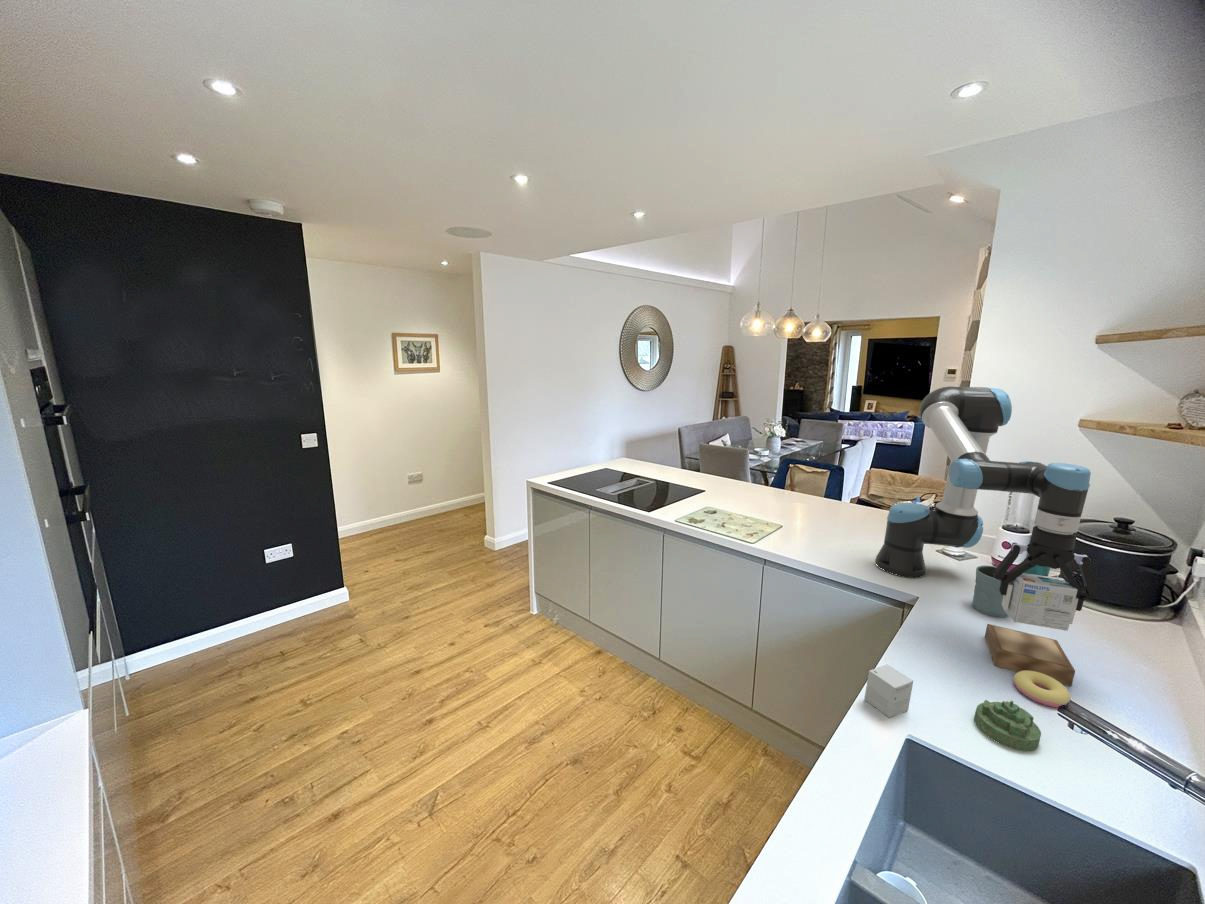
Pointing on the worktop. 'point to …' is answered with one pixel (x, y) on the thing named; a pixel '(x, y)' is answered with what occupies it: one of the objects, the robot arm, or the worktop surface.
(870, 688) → the grey cube-like block
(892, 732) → the worktop surface
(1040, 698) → the donut
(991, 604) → the green plant pot
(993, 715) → the decorative artifact
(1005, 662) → the base
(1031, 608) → the light bulb box
